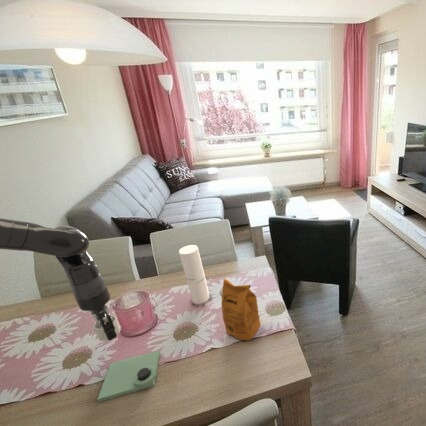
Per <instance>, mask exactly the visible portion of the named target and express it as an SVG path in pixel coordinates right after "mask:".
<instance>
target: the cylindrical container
mask: <svg viewBox="0 0 426 426" xmlns="http://www.w3.org/2000/svg"><path fill="white" fill-rule="evenodd" d="M178 255H179V257H180V262H181V265H182V269H183V272H184V276H185V279H186V282H187V283H186V284H187V287H188V291H189V293H190V297H191V301H192V303H193V304H194V305H201V304H204V303H206V302H207V301H208V300H209V299H210V292H209V288H208V283H207V279H206V275H205V271H204V267H203V262H202V259H201V256H200V255H201V254H200V250H199V247H198V245H196V244H189V245H185V246H183V247H181V248H180V249H179V250H178Z"/></svg>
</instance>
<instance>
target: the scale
mask: <svg viewBox="0 0 426 426" xmlns="http://www.w3.org/2000/svg"><path fill="white" fill-rule="evenodd" d="M160 353H161V350H156V351H151V352H148V353H144V354H140V355H137V356H132V357H128V358H126V359H121V360H118V361H114V362H110V364H109V367H108V370H107V371H106V375H105V377H104V380H103V383H102V385H101V387H100V388H101V389H100V391H99V394H98V395H97V402H98V403H101V402H105V401H108V400H112V399H116V398H118V397H121V396H125V395H128V394H132V393H135V392H139V391H142V390H145V389H148V388H152V387H155V385H156V379H157V374H158V369H159V364H158V363H160V359H159V357H160V358H161V354H160ZM143 368H148V369H149V371H150V376H149V377H148V378H147V379H145V380H143V381H141V380H139V378H138V376H137V374H138V372H139V371H140V370H141V369H143Z"/></svg>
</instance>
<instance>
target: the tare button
mask: <svg viewBox="0 0 426 426" xmlns="http://www.w3.org/2000/svg"><path fill="white" fill-rule="evenodd" d="M137 376H138V378H139V380H141V381H143V380H145V379H147V378H148V377H149V376H150V371H149V369H148V368H143V369H141V370H140V371H139V372H138V374H137Z"/></svg>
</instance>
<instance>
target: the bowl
mask: <svg viewBox="0 0 426 426" xmlns="http://www.w3.org/2000/svg"><path fill="white" fill-rule="evenodd" d="M110 315H111V318H112V322H113V325H114V326H115V329H114V330H115V333H116V335H117V336H118V335H119V334H120V332H121V330H122V327H121V325H120V323H119V320H118V318H117V316H116V315H114V314H110ZM92 328H93V331H94V333H95V335H96V337H97V338H98V340H99V341H109V340H108V338H107V336H106V334H105V333H104V331H103V328H102V326H99V325H98V323H97V321H96V320H95V322H94V323H93V325H92Z"/></svg>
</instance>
